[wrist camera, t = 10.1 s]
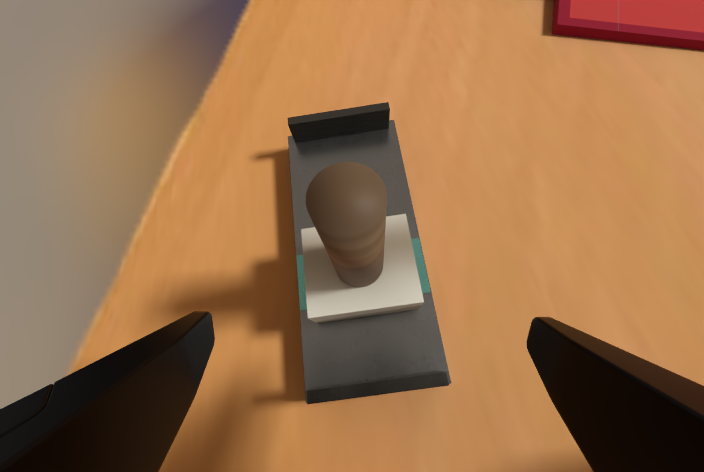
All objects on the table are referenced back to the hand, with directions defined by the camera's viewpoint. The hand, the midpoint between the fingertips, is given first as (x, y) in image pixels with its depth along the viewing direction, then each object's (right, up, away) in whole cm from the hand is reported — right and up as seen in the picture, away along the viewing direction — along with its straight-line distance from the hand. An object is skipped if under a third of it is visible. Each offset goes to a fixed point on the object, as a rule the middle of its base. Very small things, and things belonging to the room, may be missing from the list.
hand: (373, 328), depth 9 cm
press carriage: (0, 0, +11) cm, 11 cm away
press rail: (0, +2, +13) cm, 13 cm away
